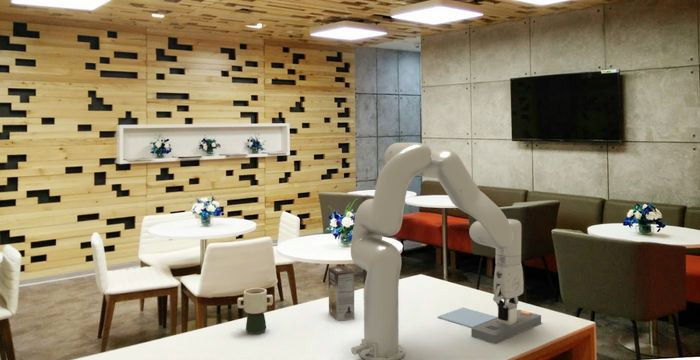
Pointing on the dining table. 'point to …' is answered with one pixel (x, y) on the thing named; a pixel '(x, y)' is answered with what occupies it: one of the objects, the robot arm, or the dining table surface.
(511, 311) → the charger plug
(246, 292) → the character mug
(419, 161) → the robot arm
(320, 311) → the dining table surface
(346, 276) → the coffee box
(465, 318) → the slate mat
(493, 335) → the power strip
